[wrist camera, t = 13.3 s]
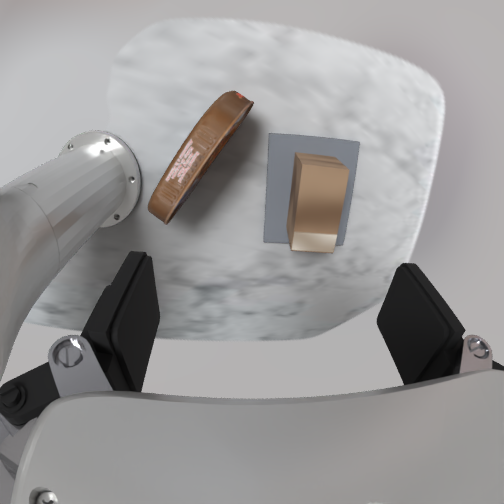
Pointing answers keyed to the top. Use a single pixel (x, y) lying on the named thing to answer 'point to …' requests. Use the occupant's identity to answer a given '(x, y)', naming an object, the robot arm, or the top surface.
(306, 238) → the card box
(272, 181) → the mat
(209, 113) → the tin
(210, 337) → the top surface
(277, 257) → the top surface
